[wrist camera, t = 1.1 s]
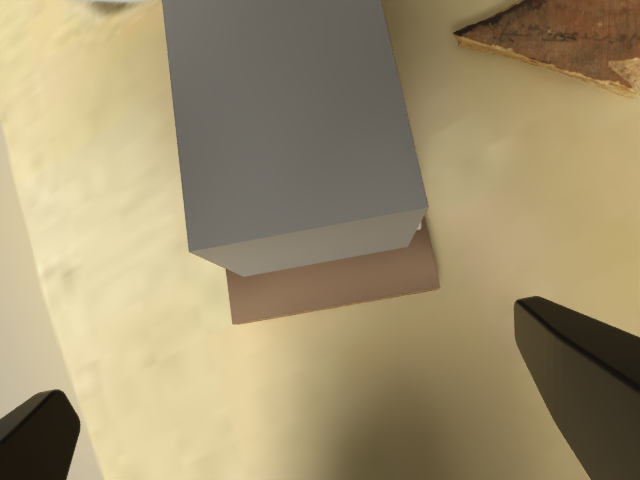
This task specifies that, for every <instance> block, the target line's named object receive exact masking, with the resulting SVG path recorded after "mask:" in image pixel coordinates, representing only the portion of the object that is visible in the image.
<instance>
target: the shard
mask: <svg viewBox="0 0 640 480" xmlns="http://www.w3.org/2000/svg"><path fill="white" fill-rule="evenodd" d="M453 35H454V36H455V37H456V38H457V39H458V40H459V44H458V46H462V47H467V48H470V49H473V50H478V51H480V52H485V53H490V54H495V55H500V56H505V57H509V58H513V59H517V60H520V61H522V62H528V63H530V64H532V65H538V66H545V67H547V68H550V69H552V70H555V71H559V72H561V73H564V74H566V75H568V76H571V77H575V78H577V79H581V80H583V81H585V82H587V83H590V84H594V85H596V86H598V87H602V88H604V89H606V90H609V91H612V92H613V93H615V94H618V95H627V96H629V97H631V98H636V97H638V96H639V95H640V0H522V1H520V2H518V3H516V4H514V5H512V6H510V7H508V8H506V9H504V10H503V11H501V12H499V13H497V14H495V15H494V16H492V17H490V18H488V19H486V20H484V21H480V22H478V23H477V24H472V25H468V26H466V27H465V28H463V29H461V30H459V31H456V32H454V33H453Z"/></svg>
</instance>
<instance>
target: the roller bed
mask: <svg viewBox="0 0 640 480" xmlns="http://www.w3.org/2000/svg"><path fill="white" fill-rule="evenodd" d="M226 275H227V283H228V291H229V299H230V307H231V316H232V324H244V323H250V322H256V321H261V320H267V319H273V318H278V317H284V316H290V315H296V314H301V313H307V312H313V311H318V310H324V309H330V308H335V307H341V306H347V305H352V304H358V303H364V302H369V301H375V300H381V299H386V298H392V297H398V296H403V295H409V294H415V293H420V292H426V291H432V290H437V289H439V288H440V284H439V279H438V275H437V270H436V266H435V262H434V257H433V253H432V248H431V244H430V240H429V235H428V231H427V226H426V222H425V218H424V217H423V219H422V220H421V222H420V224H419V226H418V228H417V230H416V232H415V234H414V236H413V238H412V240H411V241H410V243H409V245H408V247H405V248H399V249H394V250H388V251H383V252H377V253H372V254H366V255H361V256H356V257H350V258H345V259H339V260H334V261H328V262H323V263H317V264H312V265H306V266H301V267H295V268H290V269H284V270H279V271H273V272H268V273H262V274H257V275H251V276H246V277H243V276H241V275H239V274H237V273H234V272H232V271H230V270H228V269H226Z"/></svg>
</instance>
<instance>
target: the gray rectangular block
mask: <svg viewBox="0 0 640 480" xmlns="http://www.w3.org/2000/svg"><path fill="white" fill-rule="evenodd" d="M162 4H163V14H164V23H165V32H166V42H167V51H168V60H169V70H170V79H171V88H172V98H173V107H174V116H175V126H176V135H177V145H178V154H179V163H180V173H181V182H182V191H183V201H184V210H185V219H186V229H187V238H188V247H189V252H190V253H193V254H195V255H197V256H199V257H201V258H204V259H206V260H208V261H210V262H212V263H215V264H217V265H219V266H221V267H223V268H226V269H228V270H230V271H232V272H234V273H237V274H239V275H241V276H243V277H246V276H251V275H257V274H262V273H268V272H273V271H279V270H284V269H290V268H295V267H301V266H306V265H312V264H317V263H323V262H328V261H334V260H339V259H345V258H350V257H356V256H361V255H366V254H372V253H377V252H383V251H388V250H394V249H399V248H405V247H408V245H409V243H410V241H411V240H412V238H413V236H414V234H415V232H416V230H417V228H418V226H419V224H420V222H421V220H422V219H423V217H424V215H425V213H426V211H427V209H428V202H427V198H426V194H425V189H424V185H423V181H422V176H421V172H420V168H419V163H418V159H417V155H416V150H415V146H414V141H413V137H412V133H411V128H410V124H409V120H408V115H407V111H406V107H405V102H404V98H403V94H402V89H401V85H400V81H399V76H398V72H397V68H396V63H395V59H394V54H393V50H392V46H391V41H390V37H389V33H388V28H387V24H386V20H385V15H384V11H383V7H382V2H381V0H162Z"/></svg>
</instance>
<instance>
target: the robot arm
mask: <svg viewBox="0 0 640 480" xmlns="http://www.w3.org/2000/svg"><path fill="white" fill-rule="evenodd" d="M514 327H515V340H516V343H517V346H518V348H519V351H520V353H521V355H522V357H523V359H524V361H525V363H526V365H527V367H528V369H529V371H530V373H531V375H532V377H533V379H534V381H535V383H536V385H537V388H538V390H539V392H540V394H541V396H542V398H543V400H544V402H545V404H546V406H547V408H548V410H549V412H550V414H551V416H552V418H553V420H554V421H555V423H556V425H557V426H558V428H559V430H560V431H561V433H562V434H563V436H564V438H565V439H566V441H567V442H568V444H569V445H570V447H571V449H572V450H573V452H574V453H575V455H576V457H577V458H578V460H579V461H580V463H581V464H582V466H583V468H584V469H585V471H586V472H587V474H588V475H589V477H590V479H591V480H640V337H638V336H635V335H633V334H630V333H628V332H625V331H623V330H621V329H618V328H616V327H613V326H611V325H608V324H606V323H603V322H601V321H598V320H596V319H594V318H591V317H589V316H586V315H584V314H581V313H579V312H576V311H574V310H571V309H569V308H566V307H564V306H562V305H559V304H557V303H554V302H552V301H549V300H547V299H544V298H542V297H539V296H533V297H527V298H522V299H518V300H517V301H516V302H515V304H514ZM79 433H80V420H79V417H78V415H77V413H76V412H75V410H74V409H73V407H72V405H71V403H70V402H69V400H68V398H67V397H66V395H65V393H64V392H62V391H61V390H57V389H55V390H50V391H44V392H40V393H37V394H36V395H34V396H32V397H31V398H30V399H28V400H27V401H25V402H24V403H23V404H21V405H20V406H18V407H17V408H15V409H14V410H13V411H11V412H10V413H8V414H7V415H6V416H4V417H3V418H1V419H0V480H66V479H67V475H68V472H69V468H70V464H71V461H72V457H73V454H74V451H75V447H76V443H77V440H78V436H79Z"/></svg>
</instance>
